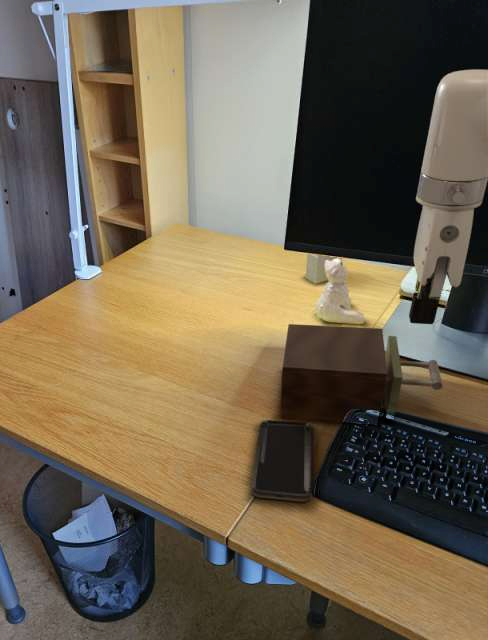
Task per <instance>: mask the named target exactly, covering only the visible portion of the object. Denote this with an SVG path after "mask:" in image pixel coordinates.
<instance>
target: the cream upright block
mask: <svg viewBox="0 0 488 640" xmlns="http://www.w3.org/2000/svg"><path fill="white" fill-rule="evenodd" d="M333 259H337V257H330V256H322V255H313V254H307V253H306V265H305V266H306V268H305V279H307V280H308V281H310V282H312V283H313V284H315V285H317V284H320V283H324V282H328V281H329V280H328V278H327V277H326V272H325V267H324V265H325V261H326V260H329V261H332V260H333ZM339 259H341V260H342V261H343V257H342V258H339Z"/></svg>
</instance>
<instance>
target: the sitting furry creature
mask: <svg viewBox="0 0 488 640" xmlns="http://www.w3.org/2000/svg"><path fill="white" fill-rule="evenodd" d="M324 267H325V272H326V277H327V278H328V280H327V283H326V284H325V286H324V287H323V291H322V292H321V295H320V297H319V298H318V300H317V301H316V303H315V305H314V307H315V308H314V311H315V314H316V315H317V317H318V318H319V319H322V320H323V321H325V322H327V323H337V324H348V325H363V324H364V322H365V313H363V312H361V311H359V310H358V309H352V308H351V303H352V298H351V297H350V296H349V294H350V291H349V289H348V283H347V281H346V280H347V279H349V274H348V270H347V269H348V267H347V265H345V264H344V262H343V259H342V260H341V259H339V258H337V259H333V260H332V261H329V260H326V261H325V265H324Z"/></svg>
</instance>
